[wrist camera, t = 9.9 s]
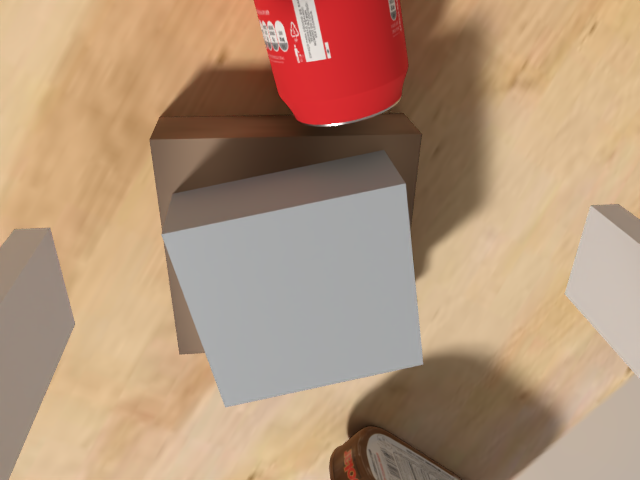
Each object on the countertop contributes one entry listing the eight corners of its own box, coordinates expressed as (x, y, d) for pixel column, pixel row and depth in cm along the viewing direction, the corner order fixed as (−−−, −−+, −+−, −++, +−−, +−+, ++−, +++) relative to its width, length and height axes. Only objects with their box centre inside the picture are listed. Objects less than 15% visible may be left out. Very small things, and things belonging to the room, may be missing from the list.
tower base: (185, 311, 30) (179, 354, 27) (161, 113, 24) (149, 139, 21) (382, 300, 31) (397, 340, 28) (400, 110, 26) (421, 134, 23)
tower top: (227, 354, 27) (225, 407, 24) (172, 193, 22) (161, 234, 19) (403, 316, 27) (423, 364, 24) (384, 149, 23) (405, 183, 20)
